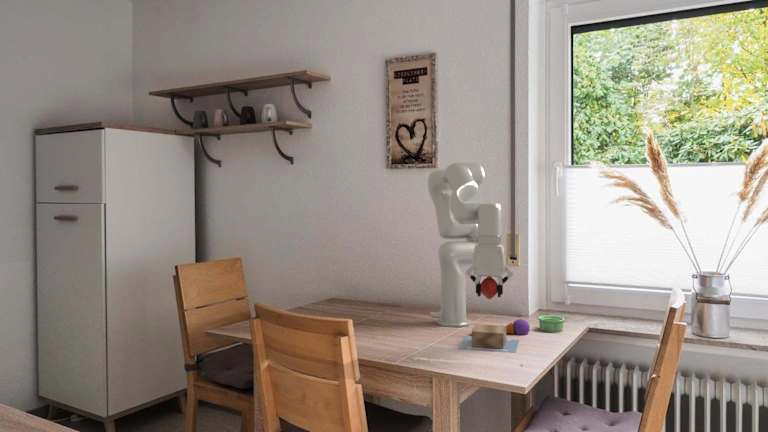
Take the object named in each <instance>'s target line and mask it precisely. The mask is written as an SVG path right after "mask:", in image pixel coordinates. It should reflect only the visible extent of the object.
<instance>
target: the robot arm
mask: <svg viewBox="0 0 768 432" xmlns="http://www.w3.org/2000/svg"><path fill="white" fill-rule="evenodd" d="M485 176H486V174H485V170H484V168H483V166H482V165H481V164H480V163H478V162H453V163H451V164H449V165H448V166H447V167H446V168H445V169H439V170H438V169H436V170H434V171H432V172H431V173H430V174H428V178H427V189H428V192H429V196H430V198H431V201H432V203H433V205H434V209H435V216H436V217H435V218H436V222H437V229H438V232H439V236H440V238H442V239H443V240H452V241H446V242H443V243H441V244H440V245H439V246H438V253H437V255H438V261H439V269H440V311H437V312H436V311H430V312H429V317H431V318H433V319H434V318H435V319H436V318H437V320H436V324H438V326H441V327H447V328H460V327H462V328H463V327H467V326H469V325H471V320H470V319H467V279H466V276H468V277H469V278H470V280H472V282H474V284H475V294H477V297H478V298H479V297H480V296H482V293H481V290H480V285H481V279H482V277H488V276H489V277H491V278H493V277H494V278H496V279H497V284H498V292H497V298H501V296H503V293H504V289H503V287H504V284H505V283H506V282H507V281H508V280H509V279H510V278H512V277H513V276H514V272H513V271H512V270H511V269H510V268H509V267H508V266H507V265H506V256H505V248H504V245H503V244H502V207H501V204H499V203H498V202H490V201H470V200H473V199H474V198H475V196H477V194H478V192H479V186H481V185H482V184H483V183H484V181H485V178H486V177H485ZM447 192H452V193H451V195H450V194H448V193H447ZM453 240H456V241H453ZM469 266H470V267H469ZM460 267H469V268H468V269H467V270H466V271H465V274H464V272H463V271H462V270H461V268H460ZM505 274H507V275H505ZM504 275H505V276H504ZM503 276H504V277H503Z"/></svg>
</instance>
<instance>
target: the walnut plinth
mask: <svg viewBox="0 0 768 432" xmlns="http://www.w3.org/2000/svg"><path fill="white" fill-rule="evenodd" d="M473 328H474V329H473ZM473 328H472V329H473V330H472V329H471V337H472V347H480V348H494V349H504V346H505V343H506V339H507V333H506V325H504V326H502V325H492V324H491V325H488V324H487V325H486V324H475V326H474V327H473Z"/></svg>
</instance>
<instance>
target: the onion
mask: <svg viewBox="0 0 768 432" xmlns="http://www.w3.org/2000/svg"><path fill="white" fill-rule="evenodd" d="M480 284H481V285H480V290H481V295H483V296H484V297H485V298H486V299H488V300H492V299H493V298H494V297H495V296H496V295H498V281H496V280H495V279H494V278H493V277H489V276H486V278H484V279H483V280H482V281H481V282H480Z"/></svg>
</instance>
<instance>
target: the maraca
mask: <svg viewBox="0 0 768 432" xmlns="http://www.w3.org/2000/svg"><path fill="white" fill-rule="evenodd" d="M505 326H506V334H508V335H514V334H515V335H522V336H524V335H525V336H526V335H528V334H529V332H530V328H531V327H530V324H529V322H528V321H527V320H526V319H523V318H518V319H515V321H513V323H512V322H510V323H507V325H505ZM473 329H474V327H472V329H471V331H472V330H473Z"/></svg>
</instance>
